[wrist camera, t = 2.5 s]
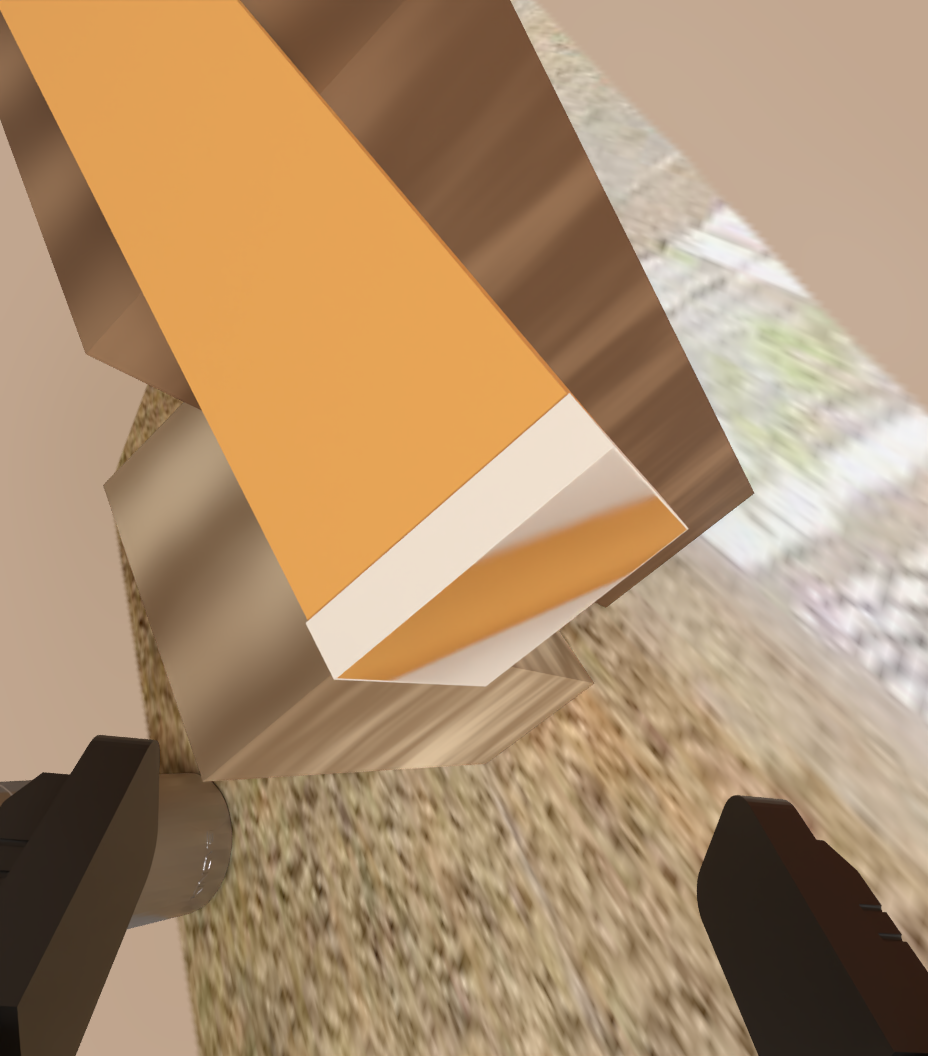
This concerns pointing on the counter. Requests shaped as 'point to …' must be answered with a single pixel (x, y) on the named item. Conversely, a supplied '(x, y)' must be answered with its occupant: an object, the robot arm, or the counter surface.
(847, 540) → the counter surface
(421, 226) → the pale tan wood block
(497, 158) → the tall stand
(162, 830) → the robot arm
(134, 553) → the short stand
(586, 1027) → the counter surface
